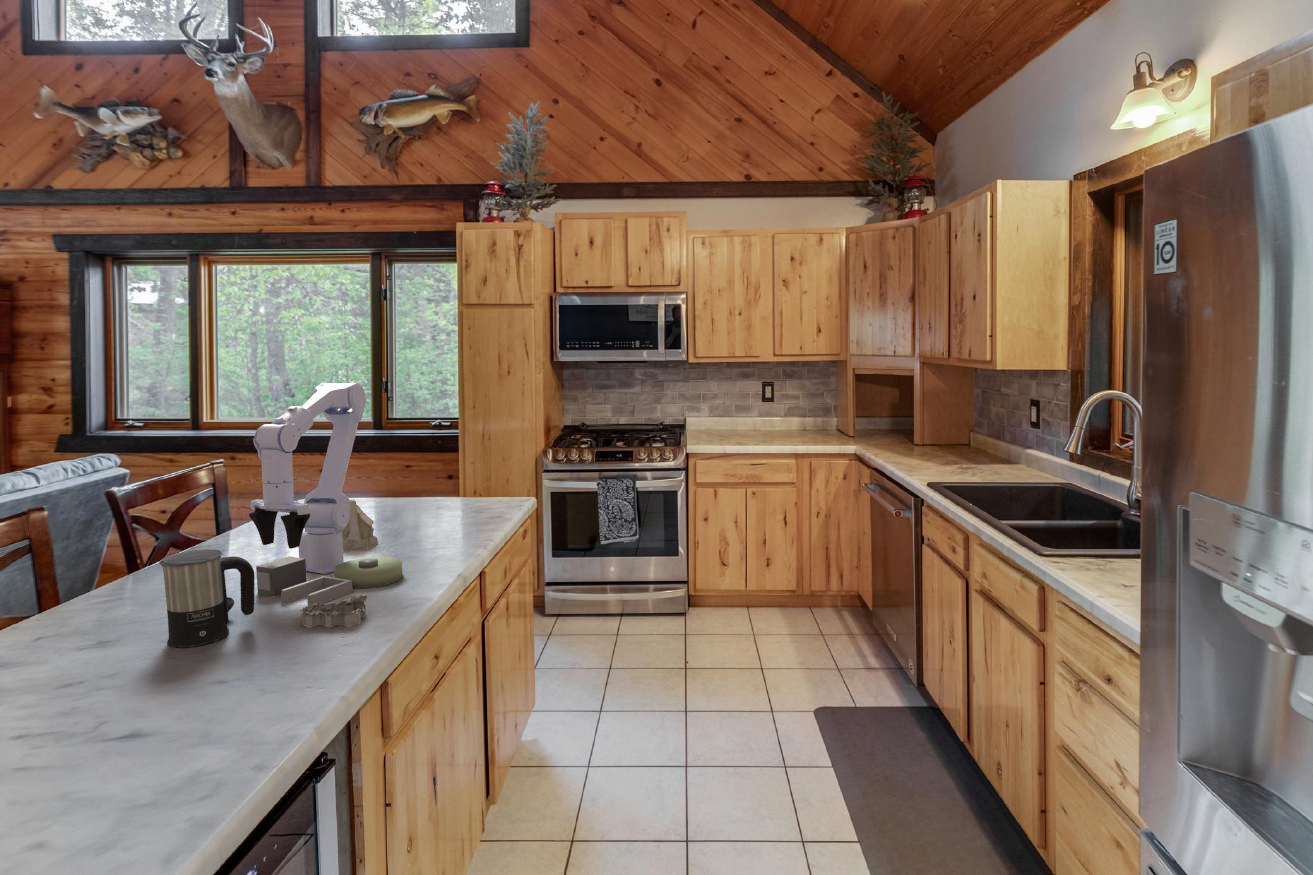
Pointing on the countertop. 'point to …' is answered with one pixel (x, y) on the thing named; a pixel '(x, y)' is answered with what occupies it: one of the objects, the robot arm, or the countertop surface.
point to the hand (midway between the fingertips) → (281, 545)
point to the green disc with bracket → (347, 579)
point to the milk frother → (202, 595)
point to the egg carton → (335, 612)
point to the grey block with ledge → (280, 575)
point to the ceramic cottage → (358, 530)
